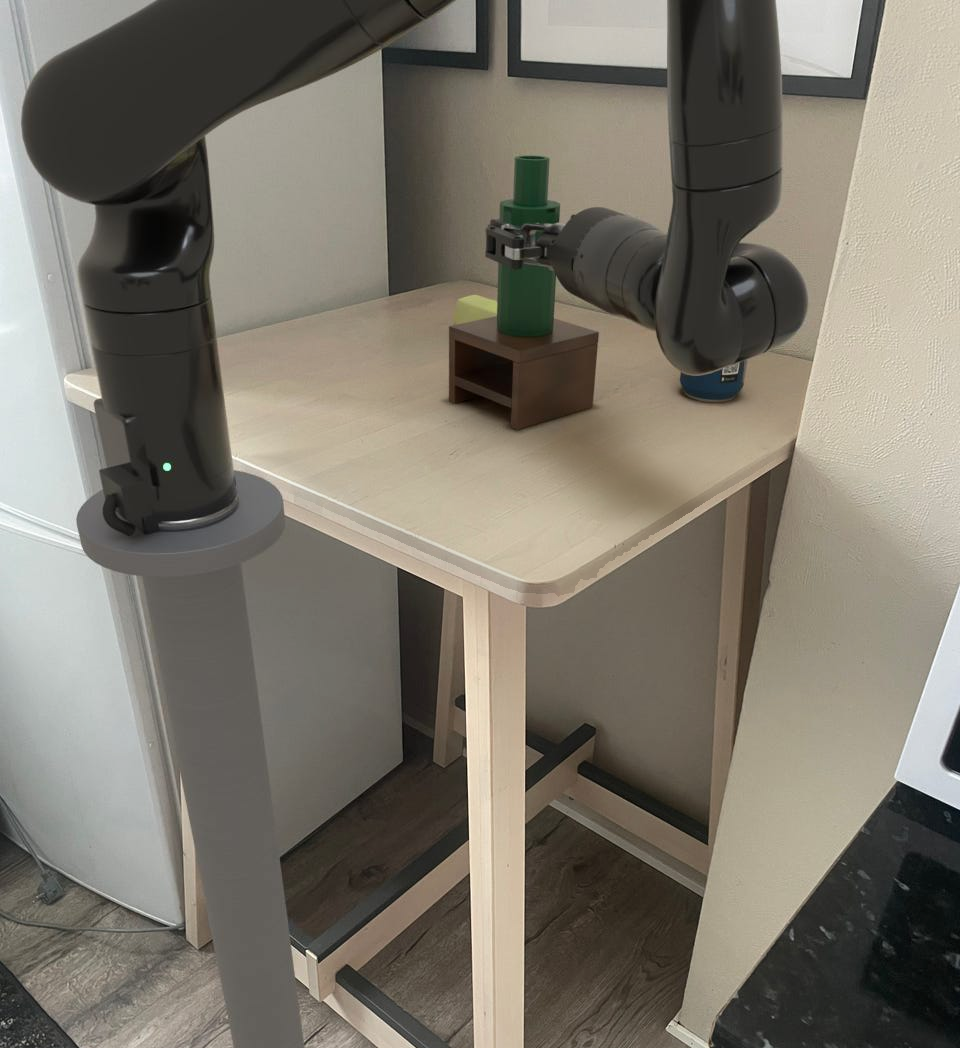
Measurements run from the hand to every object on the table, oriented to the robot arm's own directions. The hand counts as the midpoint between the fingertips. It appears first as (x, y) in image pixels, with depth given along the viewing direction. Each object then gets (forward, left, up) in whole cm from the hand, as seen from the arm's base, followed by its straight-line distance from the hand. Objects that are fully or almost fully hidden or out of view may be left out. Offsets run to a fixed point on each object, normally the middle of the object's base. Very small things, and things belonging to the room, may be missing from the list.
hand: (533, 228), depth 95 cm
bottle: (+1, +1, -10) cm, 10 cm away
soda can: (+19, -9, -18) cm, 28 cm away
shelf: (0, +1, -18) cm, 18 cm away
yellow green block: (+15, +20, -18) cm, 31 cm away
